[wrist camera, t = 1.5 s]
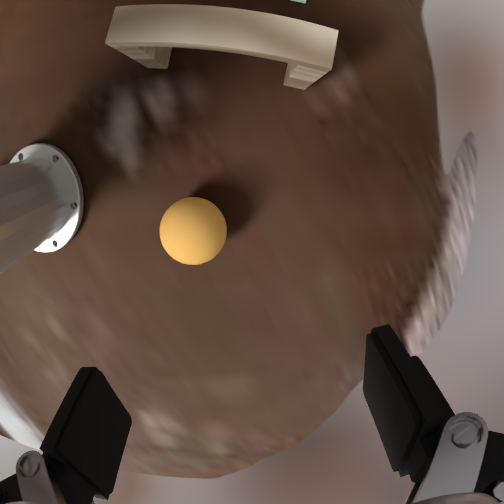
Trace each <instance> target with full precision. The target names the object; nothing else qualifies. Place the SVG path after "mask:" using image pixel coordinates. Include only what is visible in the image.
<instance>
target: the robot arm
mask: <svg viewBox="0 0 504 504" xmlns="http://www.w3.org/2000/svg"><path fill="white" fill-rule="evenodd" d="M83 206H84V198H83V189H82V184H81V180H80V177H79V175H78V172H77V169H76V168H75V166H74V164H73V163H72V161H71V160H70V158H69V157H68V156H67V155H66V154H65V153H64V152H63V151H62V150H60V149H59V148H58V147H55V146H53V145H51V144H46V143H39V144H32V145H29V146H26V147H25V148H23V149H21V150H20V151H19V152H18V153H17V154H16V155H15V156H14V157H13V158H12V160H11V161H10V163H9V164H6V165H2V166H0V274H2V273H3V272H4V271H6V270H7V269H8V268H10V267H11V266H12V265H14V264H15V263H16V262H18V261H19V260H21V259H22V258H23V257H25V256H26V255H28V254H29V253H30V252H32V251H33V250H36V251H39V252H53V251H56V250H58V249H60V248H62V247H63V246H65V245H66V244H67V243H68V242H69V241H70V240H71V239H72V238H73V237H74V235H75V234H76V232H77V231H78V228H79V226H80V223H81V219H82V215H83ZM363 392H364V396H365V399H366V401H367V404H368V406H369V408H370V411H371V414H372V416H373V419H374V421H375V424H376V426H377V429H378V432H379V434H380V437H381V440H382V442H383V445H384V448H385V450H386V453H387V456H388V459H389V461H390V464H391V467H392V469H393V471H394V472H396V471H399V473H400V477H402V476H405V475H408V474H409V475H410V478H411V480H412V482H414V484H413V486H412V489H411V491H410V493H409V495H408V497H407V499H406V501H405V503H404V504H499V502H502V501H503V502H504V434H502V433H497V432H493V431H488V427H487V424H486V422H485V420H484V419H483V418H482V417H480V416H479V415H478V414H475V413H472V412H462V413H458V414H456V415H455V414H454V412H453V411H452V409H451V408H450V406H449V404H448V402H447V401H446V399H445V398H444V396H443V394H442V393H441V391H440V389H439V388H438V386H437V385H436V383H435V381H434V380H433V378H432V377H431V375H430V374H429V372H428V370H427V369H426V367H425V366H424V364H423V363H422V361H421V360H420V359H419V357H417V356H412V357H410V355H409V354H408V352H407V351H406V349H405V347H404V346H403V344H402V343H401V341H400V340H399V338H398V337H397V335H396V334H395V332H394V331H393V329H392V328H391V326H390V325H388V324H387V325H384V326H380V327H376V328H373V329H372V330H371V333H370V334H367V337H366V355H365V369H364V381H363ZM131 423H132V420H131V416H130V414H129V413H128V412H127V410H126V409H125V407H124V406H123V404H122V403H121V401H120V400H119V398H118V397H117V395H116V394H115V392H114V391H113V389H112V388H111V386H110V384H109V383H108V381H107V380H106V378H105V376H104V375H103V373H102V372H101V371H99V370H98V369H97V368H96V367H82V368H80V370H79V371H78V373H77V375H76V377H75V379H74V381H73V382H72V384H71V386H70V388H69V390H68V392H67V394H66V396H65V397H64V399H63V401H62V403H61V405H60V407H59V409H58V411H57V413H56V415H55V417H54V419H53V421H52V423H51V425H50V427H49V429H48V431H47V434H46V436H45V438H44V440H43V442H42V444H41V446H40V449H41V450H42V451H43V454H42V455H41V454H40V453H39V452H37V451H28V452H26V453H24V454H23V455H22V456H21V457H20V458H19V460H18V461H17V464H16V474H14V475H12V476H10V477H8V478H6V479H5V480H3V481H1V482H0V504H95V503H94V501H93V497H94V496H95V497H97V498H101V499H106V500H108V498H109V494H111V493H112V492H113V489H114V485H115V481H116V477H117V473H118V470H119V466H120V462H121V459H122V455H123V451H124V448H125V444H126V441H127V437H128V434H129V431H130V427H131Z"/></svg>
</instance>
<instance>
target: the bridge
mask: <svg viewBox="0 0 504 504" xmlns="http://www.w3.org/2000/svg"><path fill="white" fill-rule="evenodd" d="M338 31H339V30H335V29H332V28H329V27H325V26H322V25H318V24H314V23H310V22H306V21H302V20H298V19H294V18H289V17H285V16H280V15H275V14H269V13H264V12H258V11H251V10H244V9H237V8H228V7H218V6H205V5H186V4H148V5H129V6H117V7H116V8H115V11H114V14H113V17H112V20H111V24H110V27H109V30H108V34H107V38H106V41H105V44H107V45H109V46H111V47H113V48H114V49H116V50H118V51H120V52H121V53H123V54H125V55H127V56H128V57H130V58H132V59H134V60H135V61H137V62H139V63H140V64H142V65H144V66H145V67H147V68H160V69H167V68H168V63H169V59H170V55H171V50H172V47H178V48H193V49H204V50H214V51H222V52H230V53H237V54H244V55H250V56H256V57H262V58H267V59H272V60H277V61H282V62H286V63H288V64H287V69H286V74H285V79H284V84H283V85H286V86H290V87H295V88H299V89H303V90H305V89H306V88H307V87H309V86H310V85H311V84H313V83H314V82H315V81H317V80H318V79H319V78H321V77H322V76H323V75H325V74H326V73H327V72H329V71H330V70H331V69H332V65H333V59H334V54H335V48H336V43H337V37H338Z"/></svg>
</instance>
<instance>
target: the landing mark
mask: <svg viewBox="0 0 504 504" xmlns="http://www.w3.org/2000/svg"><path fill="white" fill-rule="evenodd" d="M291 1H295V2H300V3H304V4H306V0H291Z"/></svg>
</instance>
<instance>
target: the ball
mask: <svg viewBox="0 0 504 504" xmlns="http://www.w3.org/2000/svg"><path fill="white" fill-rule="evenodd" d="M226 235H227V226H226V222H225V218H224V216H223V214H222V213H221V211H220V210H219V209H218V207H217V206H215V205H214V204H213V203H212V202H210V201H208V200H206V199H203V198H199V197H189V198H184V199H181V200H179V201H177V202H175V203H174V204H172V205H171V206H170V207H169V208H168V209H167V211H166V212H165V214H164V215H163V218H162V220H161V224H160V238H161V242H162V245H163V247H164V249H165V250H166V251H167V253H168V254H169V255H170V256H171V257H172V258H174V259H175V260H177V261H179V262H181V263H184V264H190V265H197V264H202V263H205V262H207V261H209V260H211V259H212V258H214V257H215V256H216V255H217V254H218V253H219V252H220V250H221V249H222V247H223V245H224V243H225V240H226Z"/></svg>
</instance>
